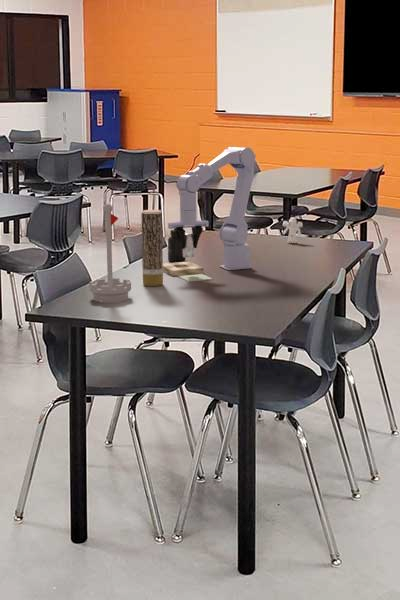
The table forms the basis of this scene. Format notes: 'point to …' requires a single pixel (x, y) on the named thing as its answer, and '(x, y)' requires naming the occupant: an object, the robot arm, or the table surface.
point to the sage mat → (195, 277)
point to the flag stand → (110, 271)
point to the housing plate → (182, 268)
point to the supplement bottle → (175, 249)
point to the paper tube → (152, 247)
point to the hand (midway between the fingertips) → (188, 248)
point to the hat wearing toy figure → (292, 228)
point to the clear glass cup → (188, 245)
